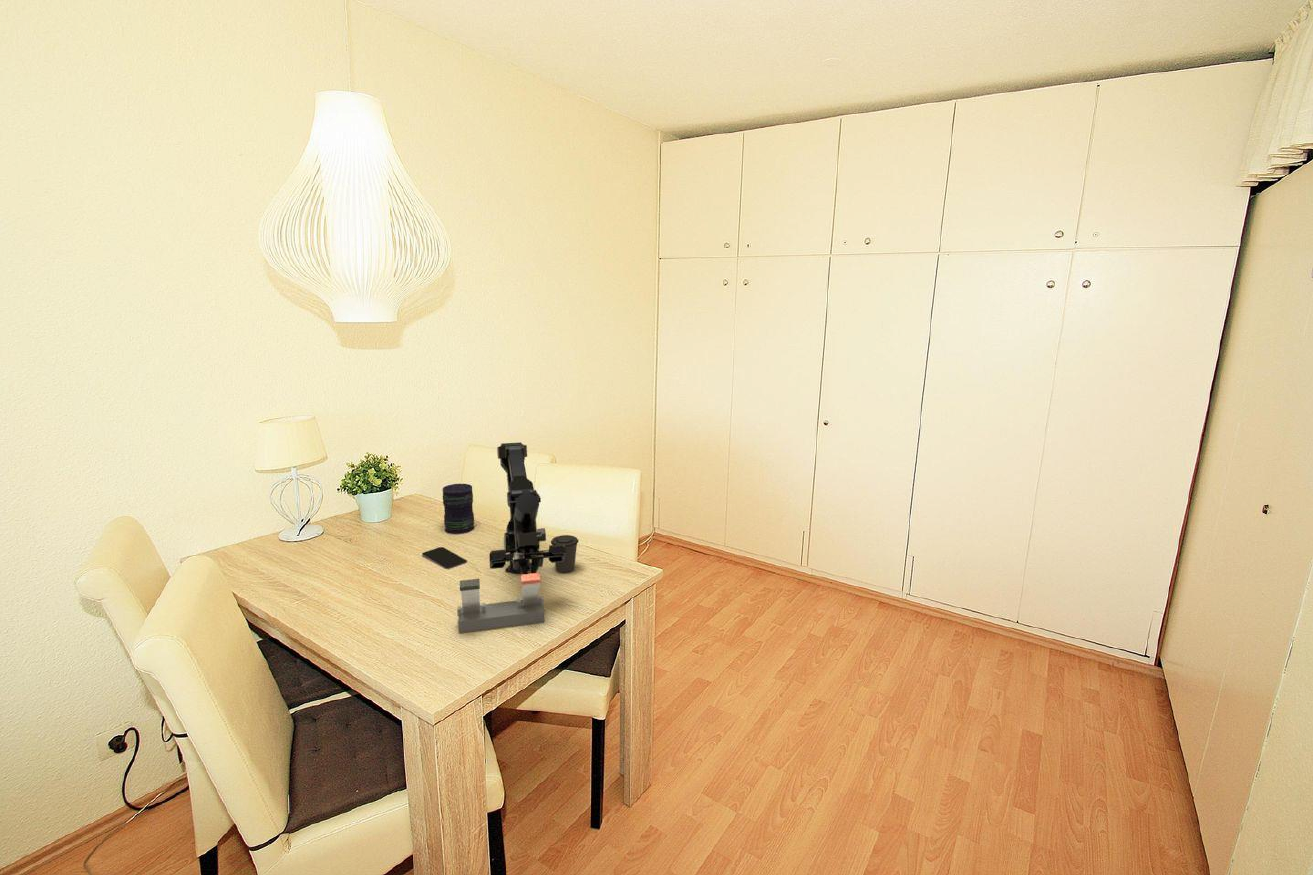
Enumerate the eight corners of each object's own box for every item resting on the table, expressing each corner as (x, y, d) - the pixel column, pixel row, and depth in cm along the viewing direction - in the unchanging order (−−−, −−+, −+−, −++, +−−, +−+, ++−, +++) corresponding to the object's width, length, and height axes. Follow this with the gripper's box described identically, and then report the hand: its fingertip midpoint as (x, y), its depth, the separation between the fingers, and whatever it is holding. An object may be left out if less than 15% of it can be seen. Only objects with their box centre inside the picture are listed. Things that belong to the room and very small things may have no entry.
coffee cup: (545, 571, 171) (544, 539, 168) (562, 561, 178) (561, 530, 175) (568, 577, 167) (567, 545, 165) (584, 567, 174) (584, 535, 172)
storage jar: (480, 526, 204) (478, 485, 201) (461, 536, 195) (459, 493, 192) (458, 522, 208) (455, 482, 205) (438, 531, 199) (435, 489, 196)
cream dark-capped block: (462, 607, 141) (459, 580, 137) (480, 605, 142) (479, 578, 138) (461, 614, 139) (459, 587, 135) (481, 612, 140) (479, 585, 136)
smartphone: (446, 569, 170) (420, 553, 180) (446, 572, 171) (420, 556, 180) (468, 561, 176) (442, 546, 185) (468, 564, 176) (442, 549, 185)
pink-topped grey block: (521, 600, 145) (520, 574, 140) (539, 598, 146) (539, 572, 142) (521, 607, 143) (521, 581, 139) (539, 605, 144) (540, 579, 140)
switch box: (458, 618, 144) (457, 600, 143) (542, 608, 150) (542, 590, 149) (457, 633, 137) (456, 615, 136) (545, 621, 143) (544, 604, 142)
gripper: (487, 520, 142) (490, 582, 134) (564, 514, 147) (571, 573, 139) (488, 538, 151) (491, 597, 143) (560, 532, 157) (567, 588, 149)
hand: (530, 588), depth 143 cm, fingers closed, pressing on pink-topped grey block
